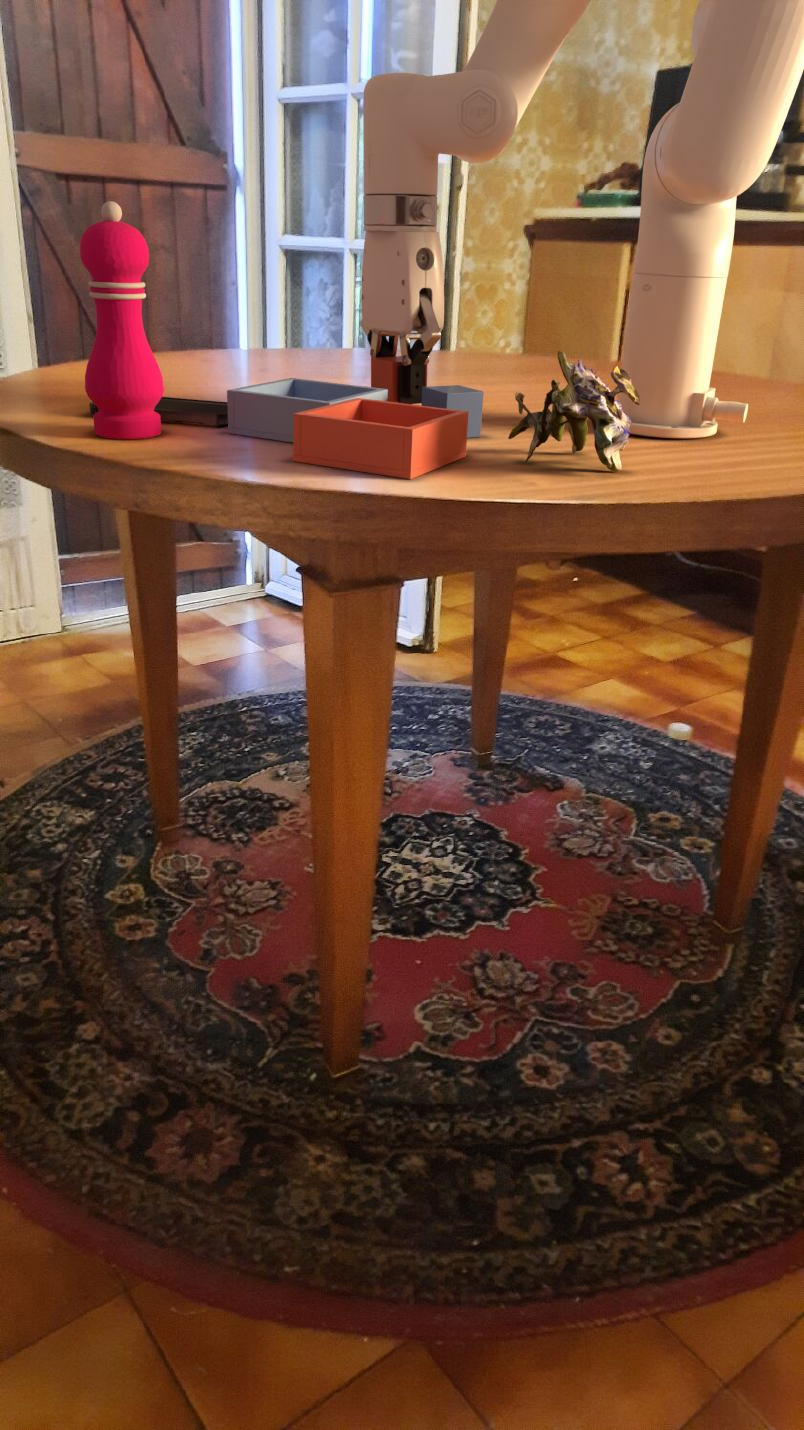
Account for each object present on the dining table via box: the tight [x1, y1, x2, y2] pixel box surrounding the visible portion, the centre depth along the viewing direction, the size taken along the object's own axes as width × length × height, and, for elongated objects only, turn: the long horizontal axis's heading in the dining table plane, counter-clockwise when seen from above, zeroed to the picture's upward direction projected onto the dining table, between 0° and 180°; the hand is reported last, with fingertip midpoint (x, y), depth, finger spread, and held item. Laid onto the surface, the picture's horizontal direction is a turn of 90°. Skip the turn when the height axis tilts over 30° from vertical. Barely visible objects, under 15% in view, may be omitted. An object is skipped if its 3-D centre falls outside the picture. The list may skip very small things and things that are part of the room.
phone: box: [89, 396, 228, 427], centre depth 107 cm, size 8×1×15 cm
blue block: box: [420, 384, 485, 439], centre depth 104 cm, size 4×4×4 cm
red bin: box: [292, 398, 469, 480], centre depth 91 cm, size 12×12×4 cm
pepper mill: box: [79, 200, 165, 440], centre depth 94 cm, size 7×7×20 cm
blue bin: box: [226, 377, 388, 444], centre depth 102 cm, size 12×12×4 cm
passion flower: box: [507, 350, 641, 473], centre depth 92 cm, size 11×11×12 cm
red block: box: [370, 355, 428, 405], centre depth 112 cm, size 4×4×4 cm
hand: (398, 398), depth 112 cm, fingers closed on red block, 4 cm apart
